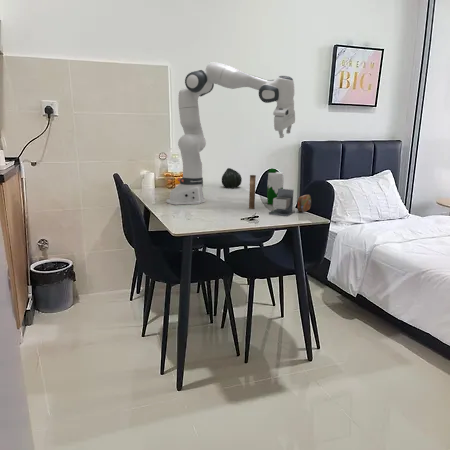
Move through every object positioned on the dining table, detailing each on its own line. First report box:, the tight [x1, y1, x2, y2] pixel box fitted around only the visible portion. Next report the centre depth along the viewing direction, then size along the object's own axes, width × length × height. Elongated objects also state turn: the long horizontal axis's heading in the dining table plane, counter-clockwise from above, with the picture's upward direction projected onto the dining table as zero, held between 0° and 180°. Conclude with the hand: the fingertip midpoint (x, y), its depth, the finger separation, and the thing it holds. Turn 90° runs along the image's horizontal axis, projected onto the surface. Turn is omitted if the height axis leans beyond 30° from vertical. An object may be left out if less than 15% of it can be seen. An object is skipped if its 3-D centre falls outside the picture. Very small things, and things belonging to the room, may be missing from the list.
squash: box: [221, 167, 243, 189], centre depth 296 cm, size 14×15×15 cm
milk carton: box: [266, 168, 284, 205], centre depth 235 cm, size 9×9×20 cm
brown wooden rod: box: [248, 174, 257, 210], centre depth 220 cm, size 3×3×18 cm
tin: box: [296, 194, 312, 213], centre depth 217 cm, size 15×3×8 cm, turn 148°
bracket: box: [268, 188, 296, 217], centre depth 209 cm, size 12×10×12 cm
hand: (285, 135), depth 217 cm, fingers open, 8 cm apart
